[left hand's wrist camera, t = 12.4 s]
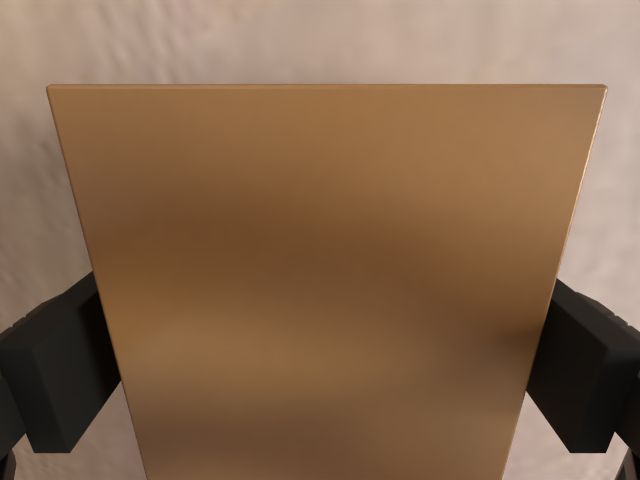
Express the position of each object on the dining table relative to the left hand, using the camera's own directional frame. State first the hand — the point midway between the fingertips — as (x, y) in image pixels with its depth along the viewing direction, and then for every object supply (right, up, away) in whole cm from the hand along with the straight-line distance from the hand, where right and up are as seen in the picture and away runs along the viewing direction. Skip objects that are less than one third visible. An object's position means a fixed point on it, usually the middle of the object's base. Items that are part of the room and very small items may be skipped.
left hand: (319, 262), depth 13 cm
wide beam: (0, -20, +10) cm, 23 cm away
